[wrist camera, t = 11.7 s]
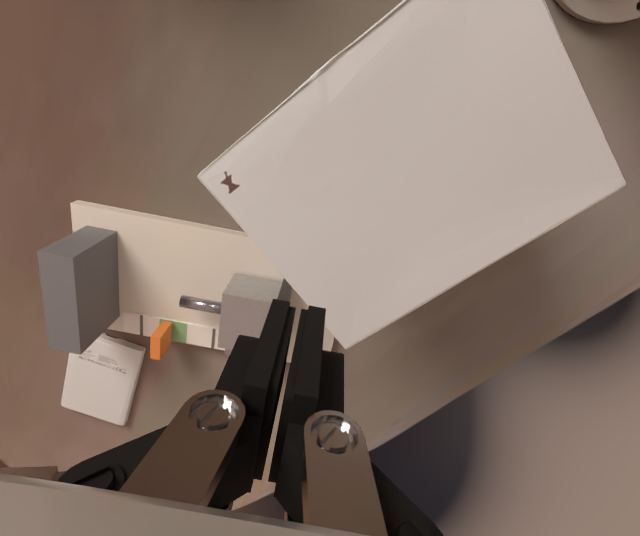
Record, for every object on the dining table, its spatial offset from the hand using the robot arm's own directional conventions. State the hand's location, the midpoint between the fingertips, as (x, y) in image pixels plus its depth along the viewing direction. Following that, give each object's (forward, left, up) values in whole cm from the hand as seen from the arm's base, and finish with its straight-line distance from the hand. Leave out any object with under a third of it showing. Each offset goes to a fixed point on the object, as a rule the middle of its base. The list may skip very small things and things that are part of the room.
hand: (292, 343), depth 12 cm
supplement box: (-4, -4, -27) cm, 28 cm away
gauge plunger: (+7, +15, -26) cm, 31 cm away
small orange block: (+14, +20, -25) cm, 35 cm away
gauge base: (+10, +14, -27) cm, 32 cm away
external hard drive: (+22, +29, -28) cm, 46 cm away
